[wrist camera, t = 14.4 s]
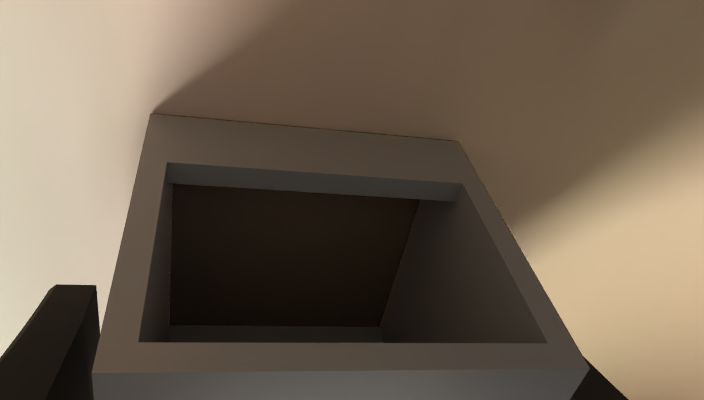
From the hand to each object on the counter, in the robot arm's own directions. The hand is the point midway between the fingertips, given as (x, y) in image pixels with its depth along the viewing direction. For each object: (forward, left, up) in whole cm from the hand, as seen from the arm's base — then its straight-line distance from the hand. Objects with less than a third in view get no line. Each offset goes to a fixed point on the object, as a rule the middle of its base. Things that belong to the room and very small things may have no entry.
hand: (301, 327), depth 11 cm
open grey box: (0, 0, -2) cm, 2 cm away
